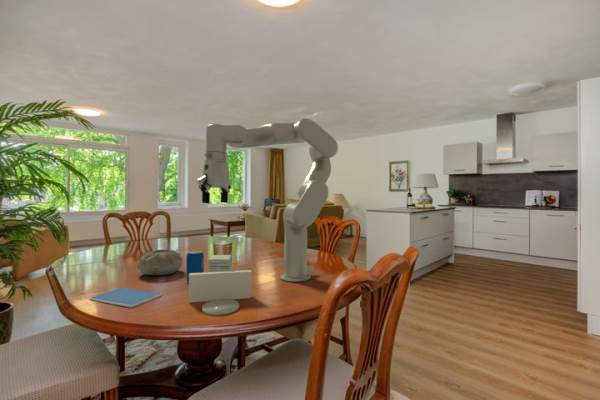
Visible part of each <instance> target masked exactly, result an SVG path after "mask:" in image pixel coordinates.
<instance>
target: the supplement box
mask: <svg viewBox="0 0 600 400" xmlns="http://www.w3.org/2000/svg"><path fill="white" fill-rule="evenodd" d="M232 267H233V255H232V254H212V255H211V256H210V258H208V272H225V271H233V268H232Z"/></svg>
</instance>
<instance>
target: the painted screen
mask: <svg viewBox="0 0 600 400" xmlns="http://www.w3.org/2000/svg"><path fill="white" fill-rule="evenodd" d="M220 299H229V300H242V299H243V300H244V299H252V270H251V269H250V270H249V269H247V270H246V269H245V270H244V269H243V270H232V271H225V272H209V271H208V272H204V273H189V283H188V303H189V304H190V303H200V302H202V303H203V302H210V301H214V300H220Z"/></svg>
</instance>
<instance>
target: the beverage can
mask: <svg viewBox="0 0 600 400" xmlns="http://www.w3.org/2000/svg"><path fill="white" fill-rule="evenodd" d="M204 256H205V254H204V253H203V250H189V251H187V254H186V259H185V260H186V263H185V264H186V267H185V268H186V270H185V271H186V283H188V284H189V273H205V265H204V263H205V261H204V260H205V259H204V258H205V257H204Z"/></svg>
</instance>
